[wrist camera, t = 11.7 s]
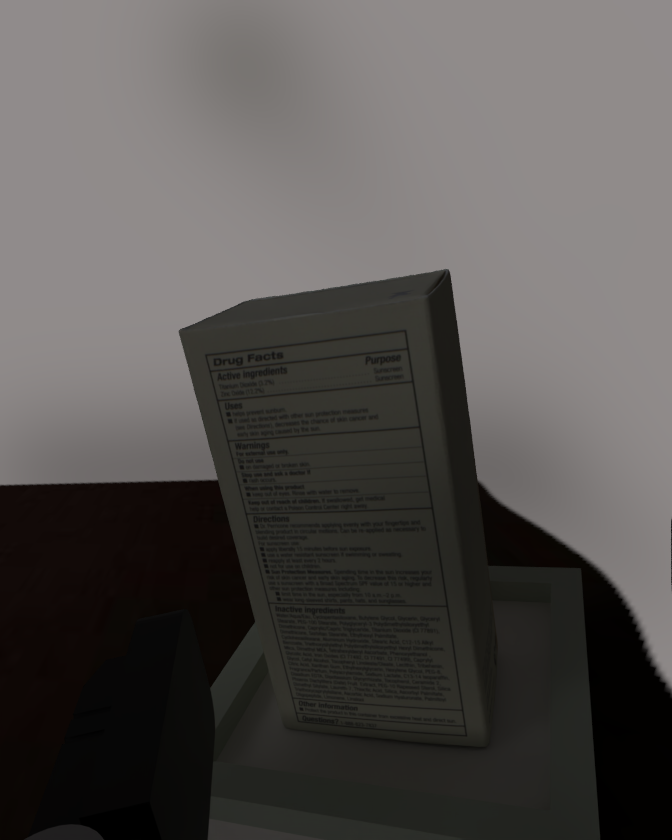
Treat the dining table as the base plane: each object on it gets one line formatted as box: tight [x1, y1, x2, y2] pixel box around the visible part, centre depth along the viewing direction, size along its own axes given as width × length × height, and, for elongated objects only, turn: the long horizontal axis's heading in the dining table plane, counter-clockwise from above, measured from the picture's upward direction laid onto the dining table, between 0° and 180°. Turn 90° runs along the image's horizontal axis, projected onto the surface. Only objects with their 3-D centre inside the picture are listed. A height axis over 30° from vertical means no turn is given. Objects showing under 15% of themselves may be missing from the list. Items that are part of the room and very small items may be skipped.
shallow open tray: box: [208, 566, 600, 840], centre depth 20 cm, size 11×11×4 cm
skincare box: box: [179, 269, 498, 747], centre depth 18 cm, size 6×4×12 cm
